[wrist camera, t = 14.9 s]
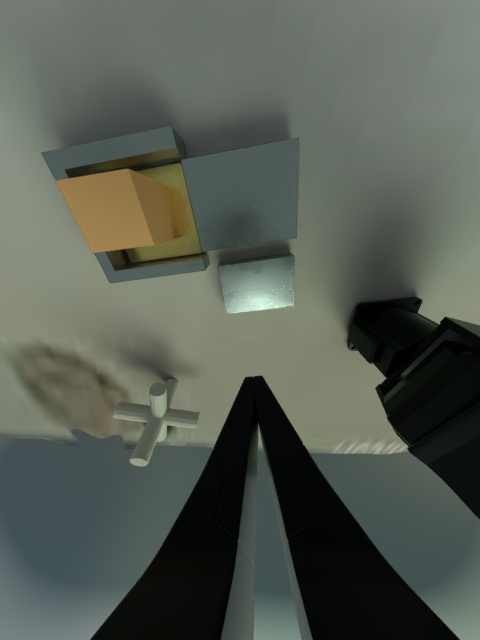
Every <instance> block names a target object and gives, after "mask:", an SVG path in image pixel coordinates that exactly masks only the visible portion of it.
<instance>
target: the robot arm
mask: <svg viewBox="0 0 480 640" xmlns="http://www.w3.org/2000/svg"><path fill="white" fill-rule="evenodd" d="M421 303H422V299H420V298H418V297H413V298H404V299H395V300H386V301H376V302H367V303H360V304H358V305H357V307H356V311H355V315H354V319H353V322H352V325H351V330H350V334H349V339H348V340H349V342H348V349H349V350H350V351H357V350H358V351H359V352H360V354H361V355H362V356H363V357H364V358H365V359H366V360H367V362H369V363H370V364H372V363H373V364H374V365H375V366H376V367H377V368H378V369H379V370H380V372H381V373H382V374H383V375H384V376H385V377H387V378H386V379H385V380H384V381H383V382H382V383H381V384H379V385H378V386H377V387H376V388H375V389H376V391H377V393H378V396H379V398H380V400H381V403H382V405H383V407H384V410H385V412H386V414H387V419H388V421H389V423H390V424H391V426H392V427H393V429H394V431H395V432H396V434H397V435H398V436H399V437H400V438H401V439H402V440H403V442H405V443H406V444H407V445H408V446H409V447H408V451H409V452H410V453H411V454H413V455H414V456H415V457H417V458H418V459H419V460H420V461H422V462H423V463H424V464H426V465H427V466H428V467H429V468H430V469H432V470H433V471H434V472H435V473H436V474H437V475H438V476H439V477H440V478H441V479H442V480H443V481H444V482H445V483H446V484H447V485H448V486H449V487H450V488H451V489H452V490H453V491H454V492H455V493H456V494H457V495H458V497H459V498H460V499H461V500H462V501H463V502H464V503H465V504H466V505H467V506H468V508H469V509H470V510H471V511H472V512H473V513H474V514H475V515H476V516H477V517H478V518H479V519H480V325H476V324H472V323H468V322H464V321H460V320H457V319H453V318H449V317H445V318H444V319H443V320H442V321H441V322H440V323H441V324H440V325H439V324H437V323H435V322H434V321H432V320H430V319H428V318H426V317H424V316H422V315H421V314H419V313H418V310H419V308H420V306H421ZM362 307H363V308H362ZM361 308H362V309H361ZM258 423H259V429H260V434H261V439H262V444H263V449H264V454H265V459H266V464H267V469H268V474H269V479H270V483H271V489H272V493H273V498H274V504H275V508H276V514H277V519H278V524H279V528H280V534H281V539H282V543H283V549H284V554H285V559H286V564H287V567H288V573H289V579H290V584H291V588H292V594H293V599H294V604H295V608H296V614H297V619H298V624H299V628H300V634H301V638H302V640H460V639H459V638H458V637H457V636H456V635H455V634H454V633H453V632H452V631H451V630H450V629H449V628H448V627H447V625H446V624H445V623H444V622H443V621H442V620H441V619H440V618H439V617H438V616H437V615H436V614H435V613H434V612H433V611H432V610H431V609H430V608H429V606H428V605H427V604H426V603H425V602H424V601H423V600H422V599H421V598H420V597H419V596H418V595H417V594H416V593H415V592H414V591H413V590H412V589H411V587H409V585H408V584H407V583H406V582H405V581H404V580H403V579H402V578H401V577H400V576H399V574H397V572H396V571H395V570H394V569H393V567H392V566H391V565H390V564H389V563H388V561H387V560H386V559H385V558H384V556H383V555H382V554H381V553H380V551H379V550H378V549H377V548H376V546H375V545H374V544H373V542H372V541H371V540H370V539H369V537H368V536H367V534H366V533H365V532H364V530H363V529H362V528H361V526H360V525H359V523H358V522H357V521H356V519H355V518H354V517H353V515H352V514H351V513H350V512H349V510H348V509H347V507H346V506H345V505H344V503H343V502H342V501H341V499H340V498H339V496H338V495H337V494H336V492H335V491H334V490H333V488H332V487H331V485H330V484H329V483H328V481H327V480H326V478H325V477H324V476H323V474H322V473H321V471H320V470H319V468H318V467H317V465H316V463H315V462H314V460H313V459H312V457H311V455H310V454H309V452H308V450H307V449H306V447H305V446H304V445H303V442H302V441H301V439H300V437H299V436H298V434H297V432H296V431H295V429H294V427H293V426H292V424H291V423H290V421H289V419H288V418H287V416H286V414H285V413H284V411H283V409H282V408H281V406H280V404H279V403H278V401H277V399H276V398H275V396H274V394H273V393H272V391H271V389H270V388H269V386H268V384H267V383H266V381H265V379H264V378H263V376H255V377H252V376H251V377H245V379H244V381H243V383H242V385H241V387H240V390H239V392H238V394H237V396H236V399H235V401H234V403H233V405H232V408H231V410H230V412H229V414H228V417H227V419H226V421H225V423H224V426H223V428H222V430H221V432H220V435H219V437H218V439H217V441H216V444H215V446H214V449H213V450H212V452H211V455H210V457H209V459H208V461H207V463H206V466H205V468H204V470H203V472H202V474H201V476H200V478H199V480H198V482H197V483H196V485H195V487H194V489H193V491H192V493H191V495H190V497H189V498H188V500H187V502H186V503H185V505H184V507H183V509H182V511H181V512H180V514H179V516H178V518H177V519H176V521H175V523H174V525H173V527H172V528H171V530H170V532H169V534H168V536H167V537H166V539H165V541H164V543H163V544H162V546H161V548H160V550H159V551H158V553H157V554H156V556H155V557H154V559H153V560H152V562H151V563H150V565H149V566H148V568H147V569H146V571H145V572H144V573H143V575H142V576H141V577H140V579H139V580H138V581H137V582H136V584H135V585H134V586H133V587H132V589H131V590H130V591H129V592H128V593H127V595H126V596H125V597H124V599H123V600H122V601H121V602H120V603H119V605H118V606H117V607H116V609H115V610H114V611H113V612H112V613H111V615H110V616H109V617H108V618H107V619H106V621H105V622H104V623H103V624H102V626H101V627H100V628H99V629H98V630H97V632H96V633H95V634H94V635H93V637H92V638H91V639H90V640H253V631H254V629H253V628H254V590H255V586H254V585H255V568H254V567H255V547H256V545H255V544H256V505H257V463H258Z"/></svg>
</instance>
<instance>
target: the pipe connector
mask: <svg viewBox="0 0 480 640" xmlns="http://www.w3.org/2000/svg"><path fill="white" fill-rule="evenodd" d="M178 385H179V382H178V381H177V380H176V379H168V380H167V382H166V384H163V383H156V384H154V385H152V386H151V388H150V390H149V396H150V406H148V405H141V404H134V403H127V402H119V403H118V405H117V406H116V408H115V410H114V413H113V417H114V418H117V419H125V420H133V421H140V422H147V425H146V427H145V429H144V431H143V433H142V435H141V437H140V439H139V442H138V444H137V446H136V448H135V450H134V452H133V455H132V457H131V459H130V463H131V464H133V465H136V466H146V465H148V462H149V460H150V457H151V455H152V452H153V449H154V447H155V444H156V442H160V441H162V440H164V439H165V437H166V436H167V425H171V426H179V427H187V428H195V429H197V425H198V420H199V415H200V413H199V412H192V411H185V410H177V409H170V406H171V403H172V401H173V398H174V395H175V393H176V390H177V388H178Z"/></svg>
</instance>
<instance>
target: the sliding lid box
mask: <svg viewBox="0 0 480 640" xmlns="http://www.w3.org/2000/svg"><path fill="white" fill-rule="evenodd" d="M41 154H42V156H43V157H44V159H45V161H46V163H47V165H48V167H49V169H50V171H51V173H52V175H53V176H54V178H55V180H56V181H57V180H63V179H69V178H75V177H80V176H86V175H92V174H98V173H104V172H110V171H116V170H122V169H130V170H132V169H137V168H143V167H148V166H153V165H158V164H164V163H169V162H174V161H180V160H181V162H182V164H181V163H178V164H172V165H167V166H162V167H156V168H151V169H146V170H141V171H135V172H137V173H140V174H142V175H144V176H146V177H149V178H151V179H153V180H155V181H158V182H160V183H162V184H164V188H165V191H166V195H167V199H168V202H169V206H170V210H171V213H172V217H173V221H174V225H175V228H176V232H177V236H178V238H177V239H173V240H170V241H166V242H163V243H160V244H156V245H151V246H143V247H136V248H128V249H126V252H127V254H128V256H129V258H130V261H131V263H133V262H140V261H147V260H154V259H161V258H168V257H175V256H182V255H189V254H196V253H202V252H203V251H210V250H217V249H224V248H231V247H238V246H245V245H252V244H259V243H266V242H273V241H280V240H287V239H294V238H297V204H298V166H299V138H294V139H289V140H283V141H278V142H273V143H268V144H262V145H257V146H252V147H247V148H241V149H236V150H231V151H225V152H220V153H215V154H210V155H204V156H199V157H194V158H189V159H187V157H186V152H185V147H184V143H183V140H182V139H181V138H180V137H179V135H178V134H177V133H176V131H175V130H174V129H173V127H172V126H167V127H163V128H158V129H153V130H148V131H143V132H139V133H134V134H129V135H124V136H119V137H114V138H110V139H105V140H100V141H95V142H90V143H85V144H81V145H76V146H71V147H66V148H61V149H57V150H52V151H47V152H42V153H41ZM182 166H183V167H182ZM183 171H184V172H183ZM184 175H185V176H184ZM185 179H186V180H185ZM186 184H187V185H186ZM187 188H188V189H187ZM188 192H189V193H188ZM189 197H190V198H189ZM190 201H191V202H190ZM191 205H192V206H191ZM192 210H193V211H192ZM193 214H194V215H193ZM194 218H195V219H194ZM195 223H196V224H195ZM196 227H197V228H196ZM197 231H198V232H197ZM198 236H199V237H198ZM199 240H200V241H199ZM200 244H201V245H200ZM201 249H202V250H201ZM94 254H95V256H96V258H97V260H98V262H99V263H100V265H101V267H102V269H103V271H104V273H105V275H106V277H107V279H108V281H109V282H110V283H117V282H124V281H131V280H139V279H146V278H154V277H161V276H169V275H176V274H183V273H191V272H198V271H205V270H206V269H207V267H208V266H209V265H210V263H209V258H208V254H202V255H195V256H188V257H181V258H174V259H167V260H160V261H153V262H146V263H139V264H132V265H130V262H129V260H128V258H127V256H126V253H125V251H124V249H120V250H113V251H105V252H98V253H94Z"/></svg>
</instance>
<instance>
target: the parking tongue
mask: <svg viewBox="0 0 480 640" xmlns="http://www.w3.org/2000/svg"><path fill="white" fill-rule="evenodd" d="M294 261H295V256H294V255H293V254H291V253H288V254H280V255H273V256H266V257H258V258H251V259H244V260H237V261H229V262H222V263H219V265H218V270H219V275H220V280H221V286H222V291H223V296H224V301H225V306H226V311H227V314H229V313H237V312H246V311H255V310H264V309H273V308H282V307H290V306H294Z"/></svg>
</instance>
